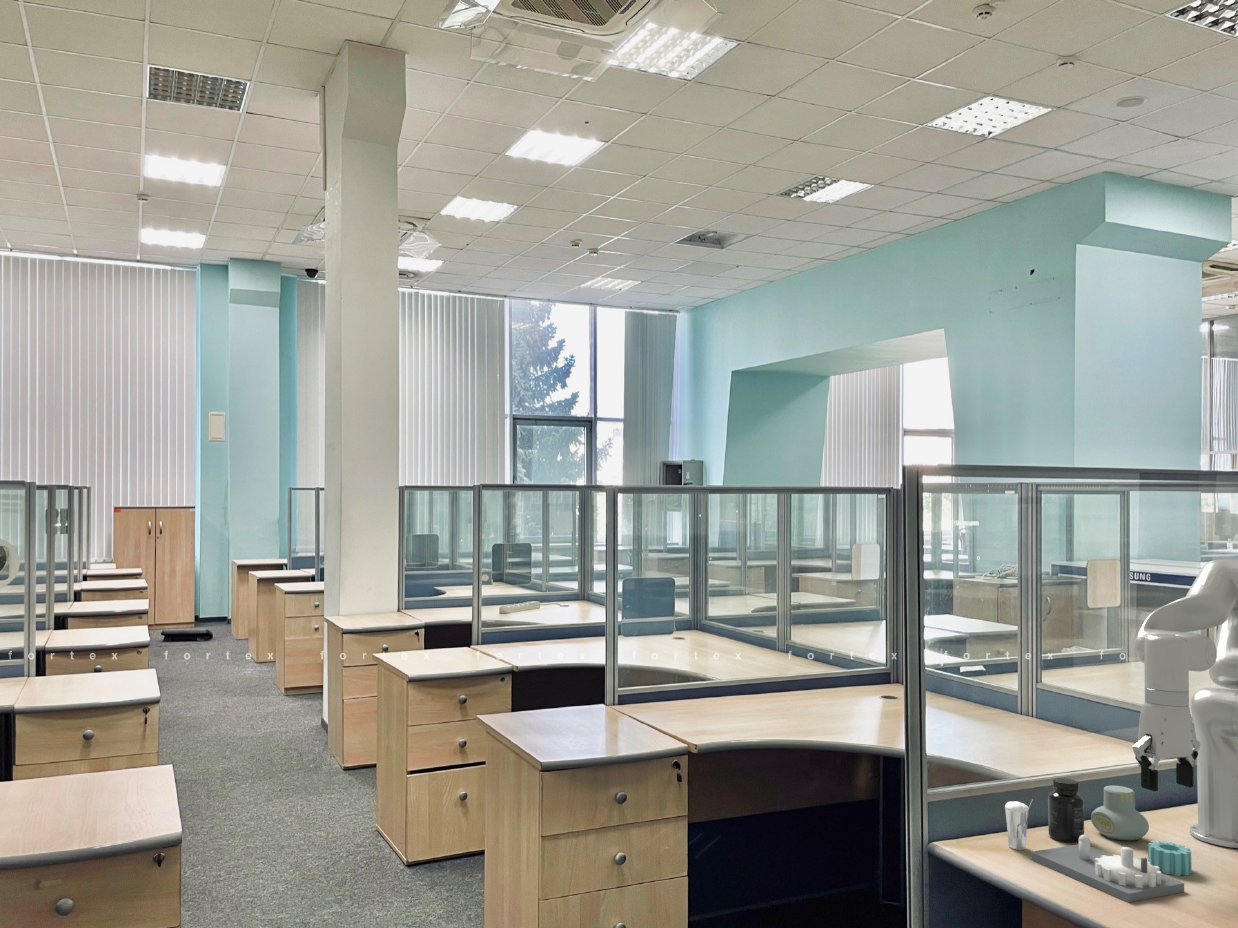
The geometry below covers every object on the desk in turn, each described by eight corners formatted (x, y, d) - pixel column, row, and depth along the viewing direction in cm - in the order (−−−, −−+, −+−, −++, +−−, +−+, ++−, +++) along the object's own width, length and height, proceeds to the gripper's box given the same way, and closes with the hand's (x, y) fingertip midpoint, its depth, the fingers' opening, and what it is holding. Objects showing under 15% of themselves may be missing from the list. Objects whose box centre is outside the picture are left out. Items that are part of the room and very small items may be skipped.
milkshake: (1035, 852, 190) (1035, 802, 190) (1007, 850, 191) (1007, 800, 191) (1030, 844, 194) (1030, 795, 195) (1003, 842, 195) (1002, 793, 196)
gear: (1165, 859, 187) (1165, 839, 187) (1200, 872, 180) (1199, 851, 180) (1139, 864, 184) (1139, 843, 184) (1173, 877, 177) (1173, 855, 178)
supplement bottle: (1078, 834, 201) (1078, 777, 202) (1088, 844, 195) (1087, 786, 195) (1044, 831, 203) (1044, 775, 203) (1053, 842, 196) (1052, 783, 197)
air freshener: (1084, 829, 205) (1084, 782, 205) (1117, 826, 207) (1116, 780, 207) (1122, 846, 194) (1121, 797, 195) (1156, 843, 196) (1155, 795, 197)
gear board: (1083, 850, 191) (1083, 818, 192) (1184, 891, 171) (1183, 854, 171) (1031, 859, 186) (1030, 825, 186) (1128, 902, 166) (1128, 864, 166)
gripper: (1179, 693, 191) (1180, 779, 189) (1117, 696, 184) (1118, 785, 183) (1215, 699, 184) (1216, 789, 183) (1152, 703, 177) (1153, 796, 176)
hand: (1167, 787), depth 183 cm, fingers open, 9 cm apart
